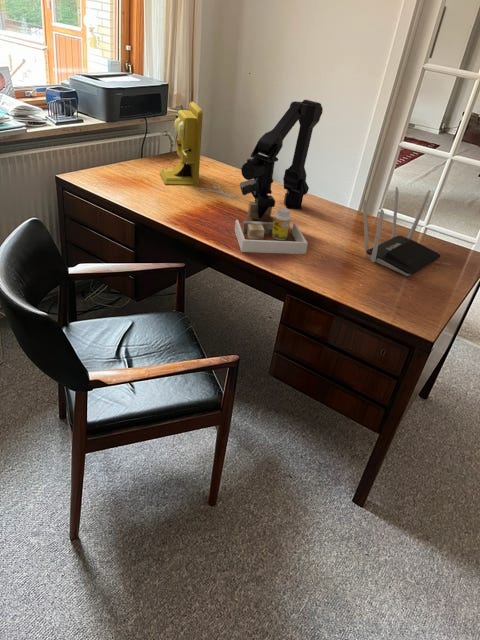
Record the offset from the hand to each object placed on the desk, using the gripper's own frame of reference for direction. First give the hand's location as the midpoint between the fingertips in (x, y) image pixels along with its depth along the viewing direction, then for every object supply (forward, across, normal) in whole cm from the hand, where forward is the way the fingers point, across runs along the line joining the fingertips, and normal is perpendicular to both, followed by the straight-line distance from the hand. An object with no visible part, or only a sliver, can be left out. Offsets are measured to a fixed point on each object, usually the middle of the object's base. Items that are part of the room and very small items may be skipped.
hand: (259, 215), depth 179 cm
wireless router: (+1, +28, +43) cm, 51 cm away
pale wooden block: (+1, +16, -4) cm, 17 cm away
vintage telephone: (+2, -40, -29) cm, 50 cm away
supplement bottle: (+1, +17, +4) cm, 17 cm away
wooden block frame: (+1, +6, 0) cm, 6 cm away
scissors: (+2, -25, -11) cm, 27 cm away
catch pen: (+1, +20, 0) cm, 20 cm away
